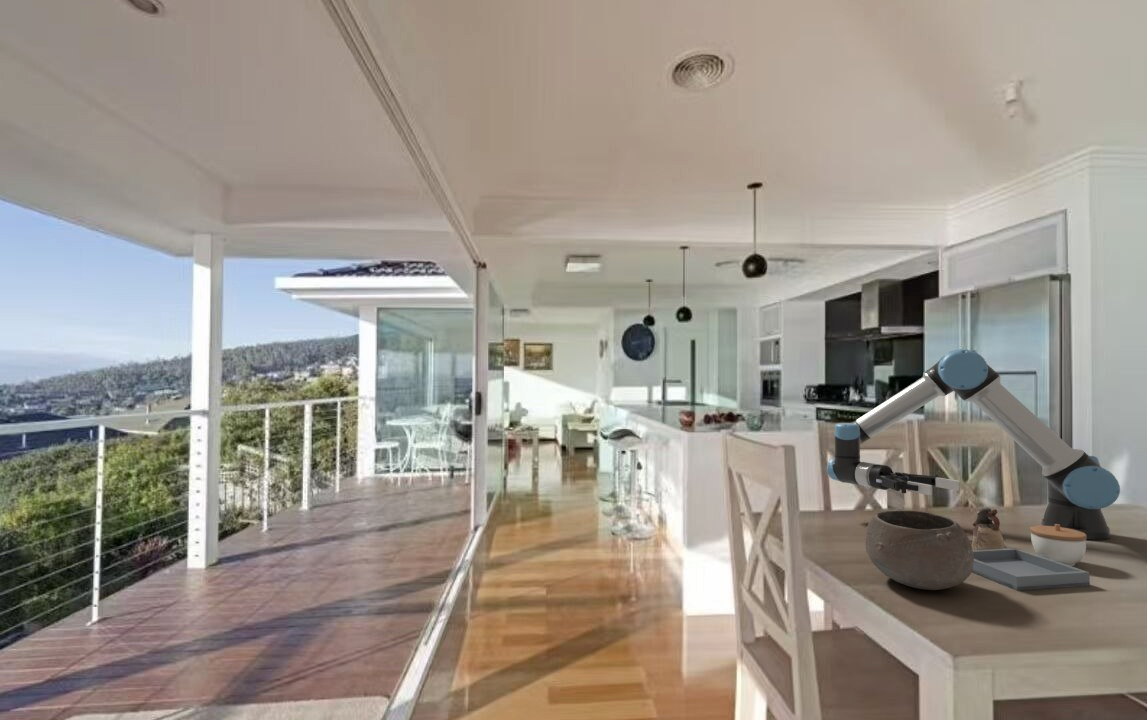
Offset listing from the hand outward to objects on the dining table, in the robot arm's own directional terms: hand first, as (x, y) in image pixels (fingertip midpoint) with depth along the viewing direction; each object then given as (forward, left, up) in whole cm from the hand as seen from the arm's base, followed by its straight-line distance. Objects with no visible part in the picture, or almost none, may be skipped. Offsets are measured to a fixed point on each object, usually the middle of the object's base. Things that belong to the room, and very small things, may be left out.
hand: (946, 488), depth 157 cm
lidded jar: (-15, +18, -16) cm, 28 cm away
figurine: (-4, +9, -16) cm, 19 cm away
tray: (+3, +24, -15) cm, 29 cm away
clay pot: (+30, +26, -16) cm, 43 cm away
